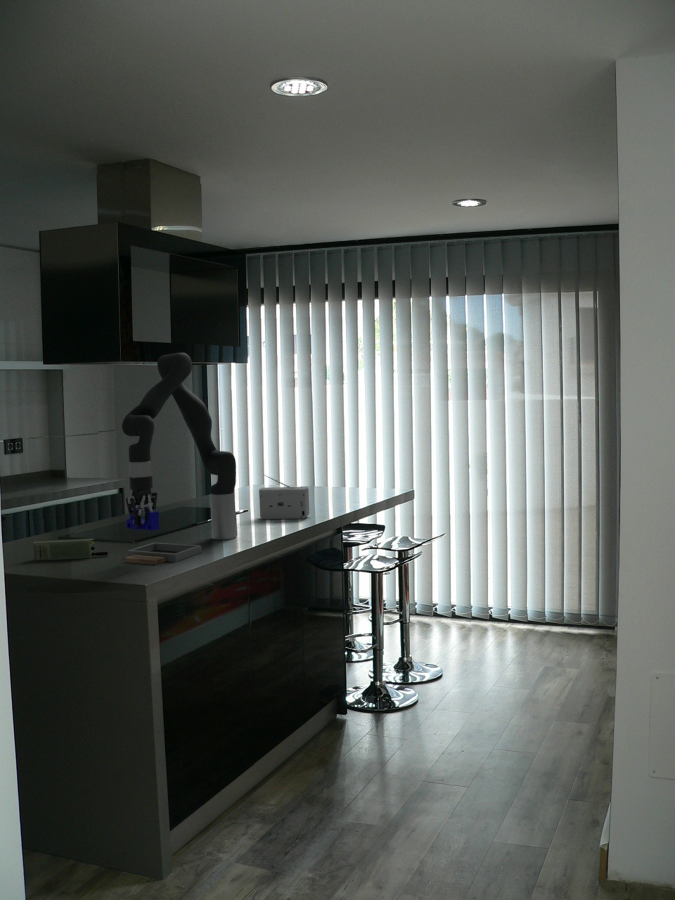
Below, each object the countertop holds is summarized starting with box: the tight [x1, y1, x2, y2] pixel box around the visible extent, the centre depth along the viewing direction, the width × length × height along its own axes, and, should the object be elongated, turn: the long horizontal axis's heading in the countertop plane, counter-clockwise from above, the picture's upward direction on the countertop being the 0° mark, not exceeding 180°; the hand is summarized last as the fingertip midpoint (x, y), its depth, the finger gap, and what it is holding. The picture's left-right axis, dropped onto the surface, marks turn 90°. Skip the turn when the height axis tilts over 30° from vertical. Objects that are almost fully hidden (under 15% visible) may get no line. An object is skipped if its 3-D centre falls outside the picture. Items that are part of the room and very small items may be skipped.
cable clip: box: [125, 509, 160, 532], centre depth 286 cm, size 12×4×6 cm, turn 49°
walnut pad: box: [124, 555, 166, 565], centre depth 287 cm, size 5×13×2 cm, turn 64°
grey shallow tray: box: [126, 541, 203, 563], centre depth 297 cm, size 15×20×2 cm
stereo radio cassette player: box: [258, 474, 310, 520], centre depth 366 cm, size 21×8×20 cm, turn 84°
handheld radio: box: [33, 538, 109, 561], centre depth 297 cm, size 7×3×25 cm
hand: (143, 524), depth 287 cm, fingers closed on cable clip, 4 cm apart
